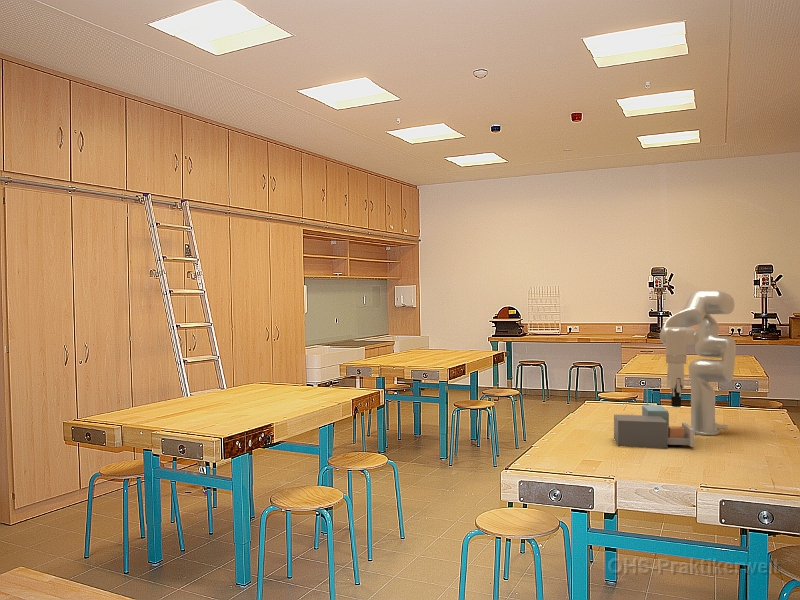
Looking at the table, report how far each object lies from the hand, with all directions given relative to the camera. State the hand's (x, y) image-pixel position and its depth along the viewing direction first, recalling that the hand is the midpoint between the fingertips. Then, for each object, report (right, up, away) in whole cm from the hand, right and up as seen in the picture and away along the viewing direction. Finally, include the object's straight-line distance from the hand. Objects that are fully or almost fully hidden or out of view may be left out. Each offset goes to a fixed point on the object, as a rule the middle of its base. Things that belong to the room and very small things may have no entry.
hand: (676, 406), depth 264 cm
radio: (-1, -16, +18) cm, 24 cm away
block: (0, -13, 0) cm, 13 cm away
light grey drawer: (-3, -14, +1) cm, 14 cm away
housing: (-13, -15, +3) cm, 20 cm away
